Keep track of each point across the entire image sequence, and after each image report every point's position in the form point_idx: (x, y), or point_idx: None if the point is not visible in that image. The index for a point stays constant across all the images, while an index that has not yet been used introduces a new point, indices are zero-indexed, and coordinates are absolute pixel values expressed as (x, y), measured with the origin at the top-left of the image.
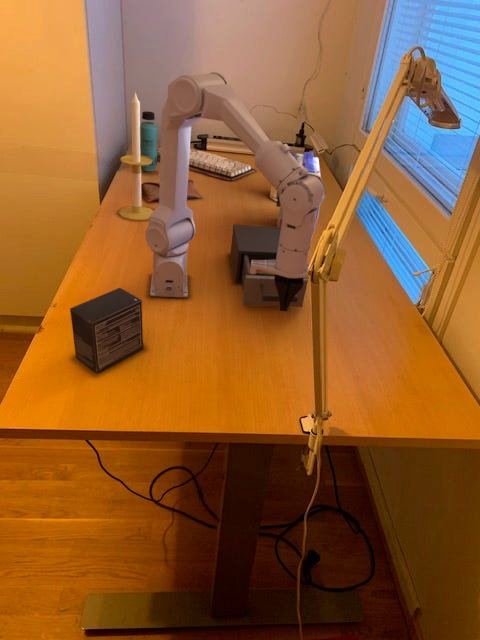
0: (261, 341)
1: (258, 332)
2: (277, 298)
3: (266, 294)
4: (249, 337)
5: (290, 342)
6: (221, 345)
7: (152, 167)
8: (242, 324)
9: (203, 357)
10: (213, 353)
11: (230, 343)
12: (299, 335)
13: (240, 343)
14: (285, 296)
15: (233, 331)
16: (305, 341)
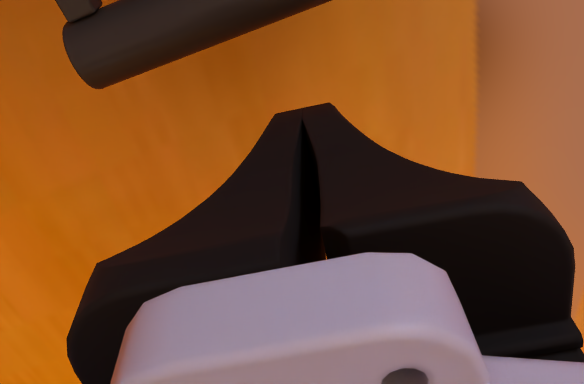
0: (223, 174)
1: (179, 102)
2: (226, 38)
3: (102, 55)
4: (149, 166)
5: (381, 122)
6: (53, 270)
7: None
8: (53, 60)
9: (32, 354)
10: (53, 323)
11: (84, 243)
12: (432, 31)
13: (128, 227)
14: (317, 174)
15: (43, 149)
16: (470, 79)
